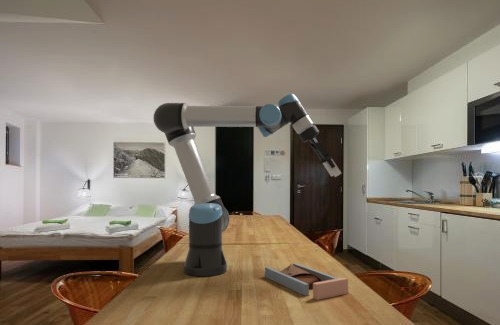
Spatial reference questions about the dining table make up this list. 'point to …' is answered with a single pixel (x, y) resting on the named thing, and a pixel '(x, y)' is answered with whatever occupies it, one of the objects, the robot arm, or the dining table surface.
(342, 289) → the gate
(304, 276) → the sunglasses case
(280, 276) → the channel
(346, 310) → the dining table surface
